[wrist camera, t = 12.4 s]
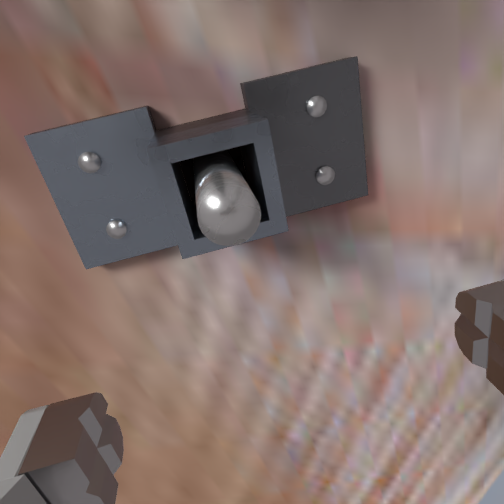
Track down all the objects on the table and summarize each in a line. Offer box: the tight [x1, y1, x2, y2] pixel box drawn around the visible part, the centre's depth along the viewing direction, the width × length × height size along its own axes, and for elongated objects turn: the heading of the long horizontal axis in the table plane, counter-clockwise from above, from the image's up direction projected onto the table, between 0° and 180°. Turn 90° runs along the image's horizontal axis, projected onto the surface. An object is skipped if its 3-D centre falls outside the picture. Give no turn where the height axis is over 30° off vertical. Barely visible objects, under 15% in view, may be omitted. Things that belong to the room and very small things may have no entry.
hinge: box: [24, 57, 368, 269], centre depth 25 cm, size 23×10×8 cm, turn 103°
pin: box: [193, 150, 261, 246], centre depth 23 cm, size 3×3×12 cm
